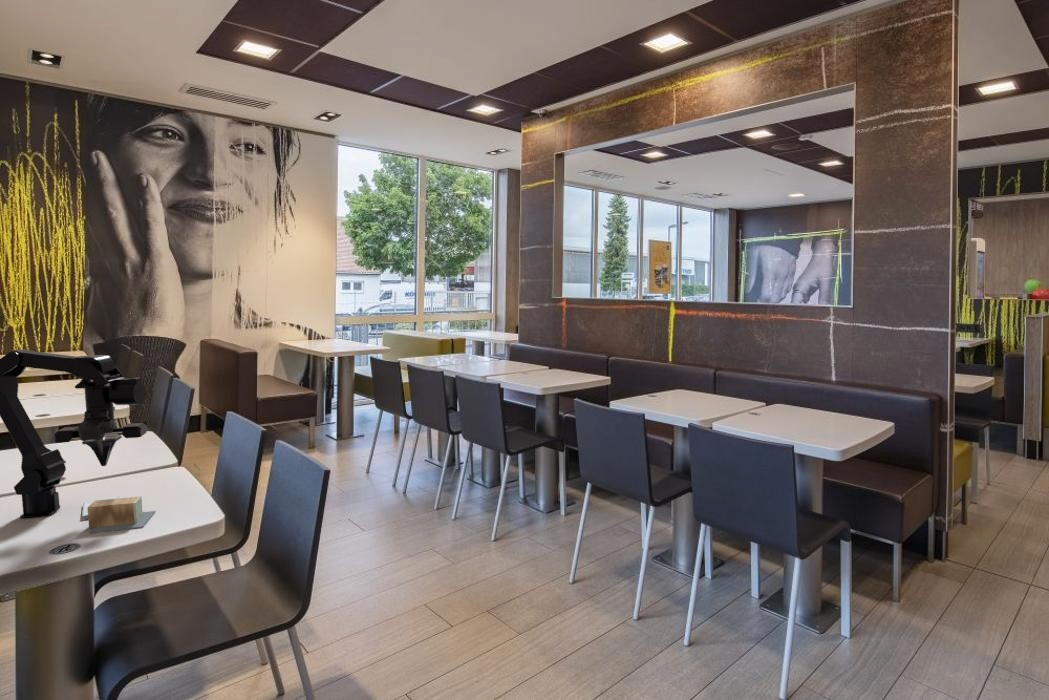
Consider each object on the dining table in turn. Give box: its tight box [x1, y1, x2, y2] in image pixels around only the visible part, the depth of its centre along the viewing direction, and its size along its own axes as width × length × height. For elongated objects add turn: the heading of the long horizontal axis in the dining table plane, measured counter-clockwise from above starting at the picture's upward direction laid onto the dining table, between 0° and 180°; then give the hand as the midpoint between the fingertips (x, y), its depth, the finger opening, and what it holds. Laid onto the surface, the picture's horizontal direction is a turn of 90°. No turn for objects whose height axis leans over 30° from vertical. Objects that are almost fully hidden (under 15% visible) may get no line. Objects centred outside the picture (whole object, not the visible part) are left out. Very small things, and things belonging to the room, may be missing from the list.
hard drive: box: [81, 496, 121, 521], centre depth 161 cm, size 2×8×12 cm
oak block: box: [87, 495, 144, 529], centre depth 151 cm, size 5×5×10 cm
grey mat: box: [89, 510, 156, 534], centre depth 152 cm, size 11×11×1 cm
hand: (104, 465), depth 159 cm, fingers closed
